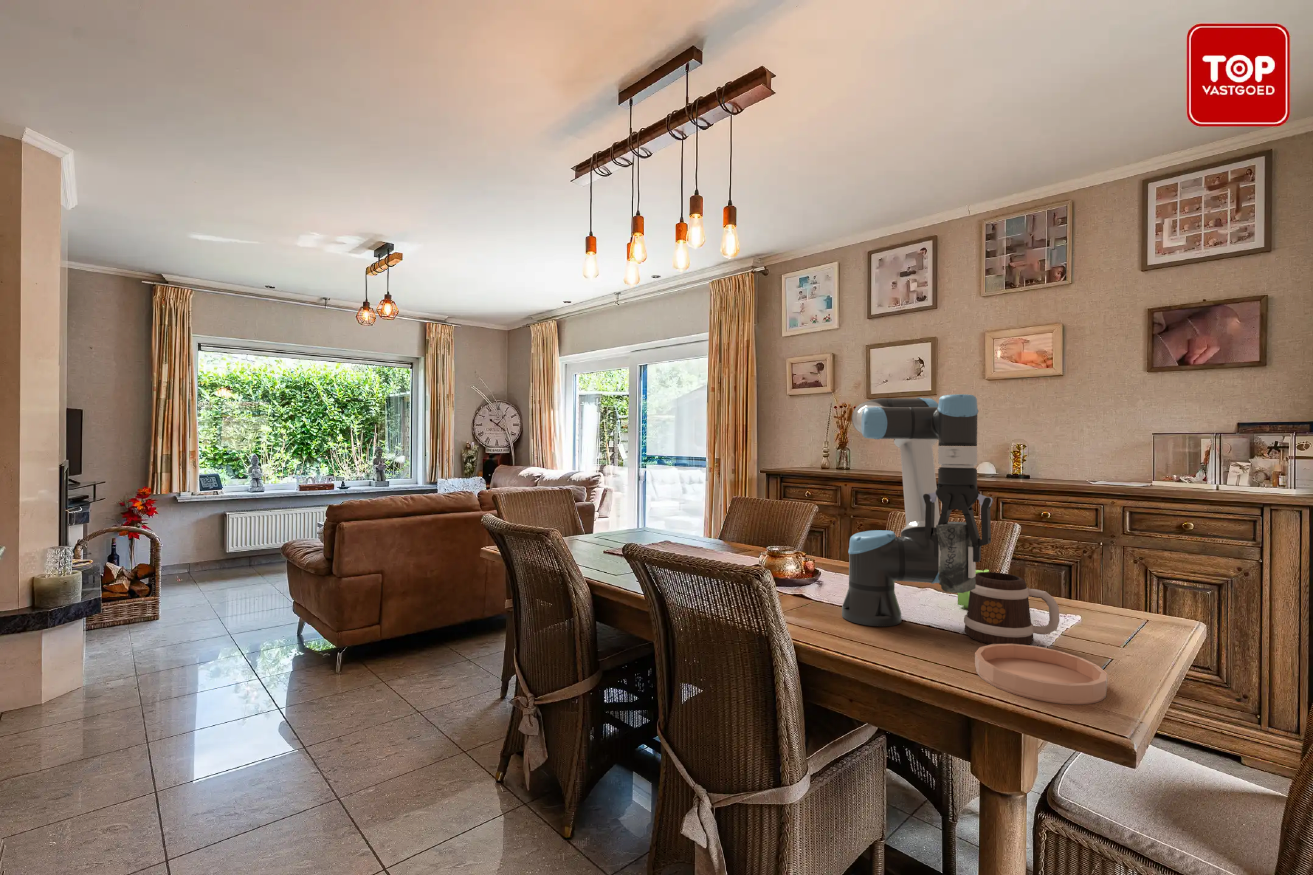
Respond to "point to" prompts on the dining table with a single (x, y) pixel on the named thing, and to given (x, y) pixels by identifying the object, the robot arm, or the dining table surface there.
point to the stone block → (954, 557)
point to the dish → (1041, 673)
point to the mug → (1005, 610)
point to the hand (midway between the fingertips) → (956, 574)
